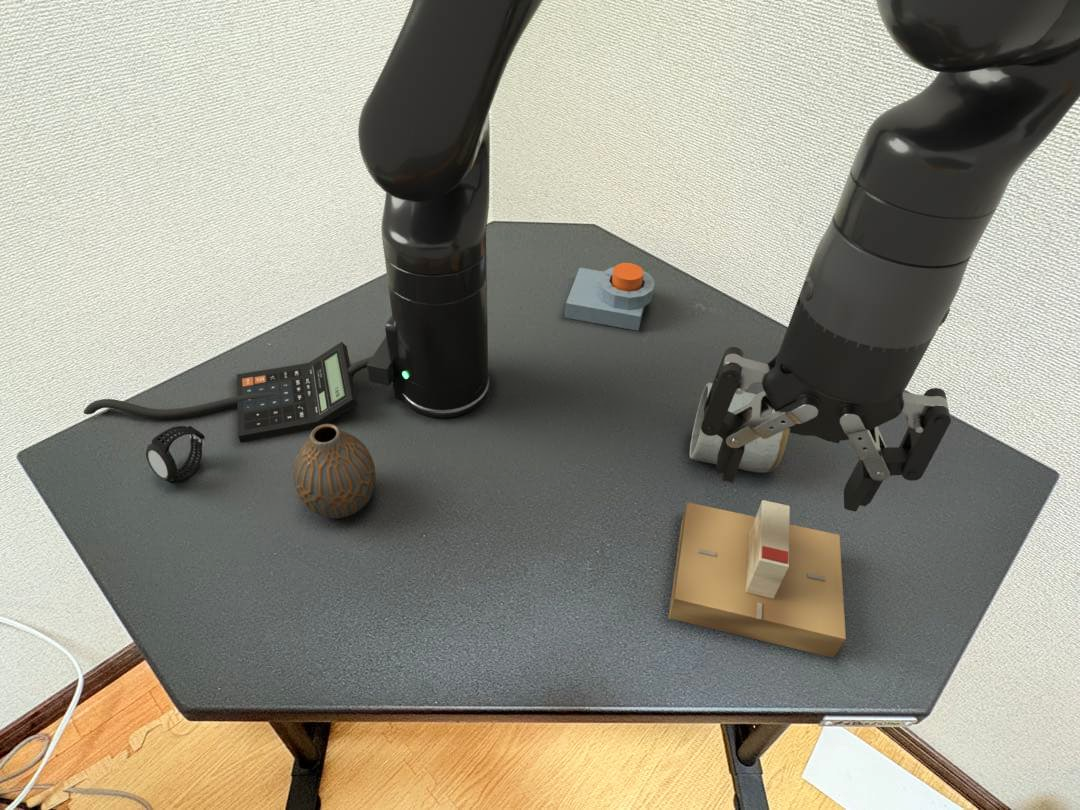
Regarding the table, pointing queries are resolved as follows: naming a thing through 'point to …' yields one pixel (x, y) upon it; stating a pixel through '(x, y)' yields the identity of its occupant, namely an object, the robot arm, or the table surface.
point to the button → (627, 277)
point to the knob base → (723, 604)
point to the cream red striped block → (768, 549)
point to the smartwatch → (163, 459)
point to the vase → (333, 473)
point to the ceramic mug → (757, 452)
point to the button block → (607, 300)
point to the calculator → (296, 396)
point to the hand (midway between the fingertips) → (787, 487)
